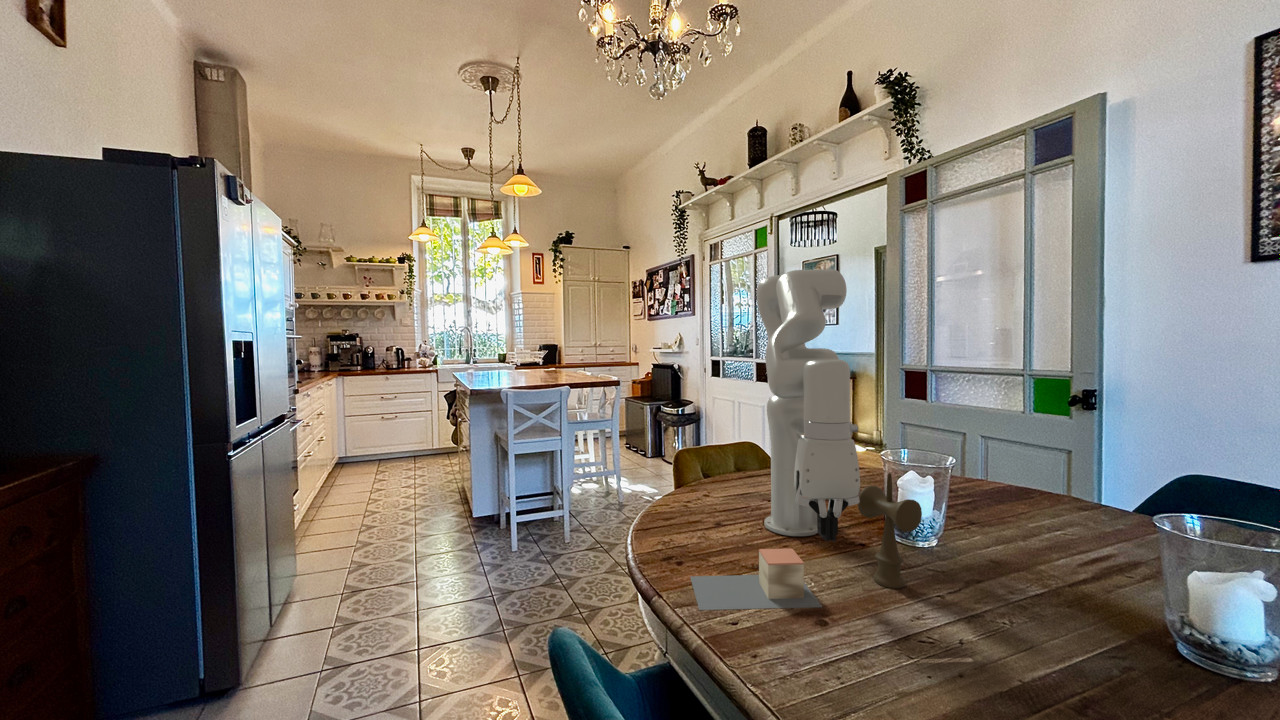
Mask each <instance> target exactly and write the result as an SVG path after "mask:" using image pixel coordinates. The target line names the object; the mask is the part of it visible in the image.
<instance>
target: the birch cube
mask: <svg viewBox="0 0 1280 720" xmlns="http://www.w3.org/2000/svg"><path fill="white" fill-rule="evenodd" d="M758 575H759V583H760V585H761V587H762V588H763V590H764V592H765V594H766V596H767V597H768V599H787V598H804V583H805V562H804V561H803V560H802V559H801V558H800V556H799V555H798V554H797V551H795V550H794V549H793V548H759V549H758Z"/></svg>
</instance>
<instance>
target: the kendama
mask: <svg viewBox="0 0 1280 720" xmlns="http://www.w3.org/2000/svg"><path fill="white" fill-rule="evenodd" d="M885 490H886V492H885V493H884V491H883V490H882V488H881V487H879V486H878V485H870V484H869V485H868V486H865V487H863V488H862V489H861V490H860V493H859V495H858V496H859V500H860V502H859V503H858V504H857V509H858V512H859V513H860V515H861V516H863V517H864V518H868V519H869V518H871V519H872V518H876V517H879V516H880V515H883V516H884V523H883V524H884V525H883V532H882V533H883V534H882V539H881V545H880V548H879V551H878V552H876V554H875V555H874V557H875V559H876V561H877V570H876V572H875V573H874V574H873V576H872V579H873V581H874V582H875V584H877V585H879V586H882V587H884V588H887V589H901V588H903V587H905V585H907V583H906V580H905V579H904V578H903V577H902V574H901V565H902V564H903V563H904V559H903V557H902V556H901V555H900V553H899V548H898V543H897V537H896V530H895V526H896V527H897V528H898V530H900V531H902V532H903V533H904V532H906V533H907V532H908V533H909V532H910V533H911V532H913V531H915V530H916V529H917V528H919V526H920V524H921V521H922V517H923V516H922V515H923V512H922V507H921V505H920V503H919V502H918V501H916V500H915V499H908V498H907V499H904V500H901V501H893V478H892V473H891V472H888V473H887V476H886V489H885Z"/></svg>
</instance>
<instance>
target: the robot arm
mask: <svg viewBox="0 0 1280 720" xmlns="http://www.w3.org/2000/svg"><path fill="white" fill-rule="evenodd" d="M756 288H757V289H756V304H757V308H758V312H759V315H760V318H761V321H762V324H763V325H764V327H765V331H766V333H767V338H768V342H767V346H766V350H765V368H766V376H767V382H768V386H769V390H770V392H771V393H772V394H773V395H771V396H770V397H769V399H768V401H767V403H766V416H767V422H768V430H769V437H770V438H769V439H770V507H771V508H770V515H769V516H767V517H765V518H764V522H763V523H764V526H765V528H766V529H767V530H769V532H770V531H771V532H773V533H775V534H778V535H783V536H788V537H809V536H814V535H816V534H818V535H819V536H820V537H821V538H822V539H823V540H824V541H825V542H831V541H832V542H837V541H836V540H837V535H838V534H839V518H840V517H841V516H842V513H843V512H844V511H845V509H846V508H848V507H852V506H855V505H858V503H859V502H860V500H859V495H860V493H861V476H860V475H861V474H860V466H859V465H860V464H859V457H858V452H857V448H856V447H857V446H856V443H855V440H854V439H852V436H853V435H852V434H853V433H858V432H859V426H858V424H853V423H852V421H851V369H850V365H849V363H848V362H847V361H845V360H841V359H840V358H839V356H838V354H837V353H836V352H835V351H834V350H832V349H829V348H819V347H818V348H817V347H816V348H815V347H813V348H811V347H810V348H809V347H807V346H806V343H808V342H810V341H813V340H814V339H816V338H817V337H818V336H819V337H820V335H821V334H822V333H824V330H825V327H826V324H827V323H826V321H827V320H826V316H825V312H824V310H834V309H838V308H840V307H841V306H842V305H843V304H844V303H845V300H846V297H847V283H846V280H845V278H844V275H843V274H842V273H841V271H839V270H836V269H832V268H830V269H829V268H824V269H823V268H821V269H816V268H815V269H795V270H789V271H787V272H785V273H783V274H778V275H771V276H768V277H765V278H763V279H762V280H760V281H759V283H758V285H757V287H756ZM802 435H803V437H802ZM826 500H828V505H826V504H827V503H826Z"/></svg>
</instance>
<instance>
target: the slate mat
mask: <svg viewBox="0 0 1280 720" xmlns="http://www.w3.org/2000/svg"><path fill="white" fill-rule="evenodd" d="M689 577H690V581H691V585H692V589H693V592H694V596H695V599H696V603H697V607H698V610H699V611H719V610H720V611H723V610H725V611H726V610H727V611H728V610H729V611H730V610H760V609H761V610H762V609H764V610H765V609H766V610H767V609H803V608H808V609H809V608H823V605H822V604H821V603H820V601H819V600H818V598H817V597H816V596H815V594H814V593H813V592H812V590H810V588H809V587H808V586H807V583H805V582H804V598H787V599H768V597H767V596H766V594H765V592H764V590H763V588H762V587H761V585H760V583H759V574H744V575H743V574H741V575H740V574H739V575H738V574H737V575H735V574H733V575H732V574H731V575H698V576H697V575H696V576H695V575H693V576H691V575H690V576H689Z"/></svg>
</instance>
